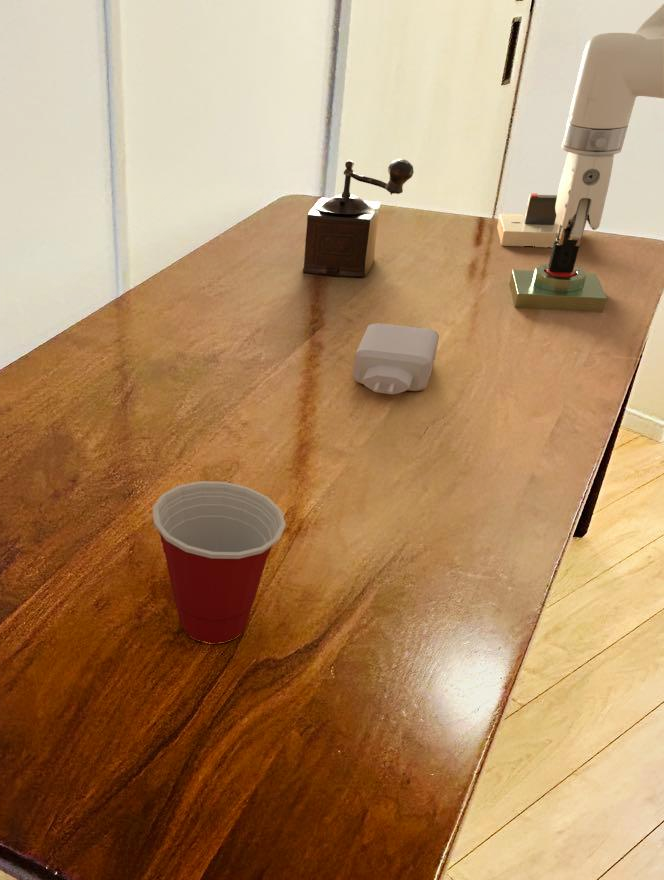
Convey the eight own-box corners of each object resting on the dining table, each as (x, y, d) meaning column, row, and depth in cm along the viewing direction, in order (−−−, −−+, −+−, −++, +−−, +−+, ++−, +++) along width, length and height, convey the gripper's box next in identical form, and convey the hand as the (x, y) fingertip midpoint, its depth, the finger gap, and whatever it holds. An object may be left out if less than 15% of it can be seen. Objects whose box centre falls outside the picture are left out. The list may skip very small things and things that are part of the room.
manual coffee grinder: (299, 274, 148) (308, 158, 137) (314, 252, 156) (323, 141, 146) (396, 283, 143) (413, 163, 132) (406, 260, 151) (422, 146, 141)
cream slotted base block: (568, 230, 160) (572, 214, 158) (576, 248, 152) (580, 232, 151) (497, 227, 163) (500, 212, 161) (501, 245, 155) (504, 230, 153)
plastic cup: (295, 653, 76) (307, 539, 69) (172, 676, 75) (170, 562, 68) (254, 576, 85) (260, 467, 78) (142, 595, 83) (138, 486, 76)
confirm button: (570, 277, 135) (573, 266, 134) (574, 287, 132) (577, 275, 131) (542, 276, 136) (545, 265, 135) (545, 286, 133) (548, 274, 132)
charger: (342, 404, 112) (364, 354, 123) (418, 415, 109) (434, 363, 120) (346, 369, 109) (368, 321, 120) (425, 379, 106) (440, 329, 117)
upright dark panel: (553, 222, 156) (559, 193, 153) (554, 224, 155) (561, 196, 152) (523, 221, 157) (529, 193, 154) (524, 223, 156) (530, 195, 153)
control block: (592, 287, 138) (599, 261, 136) (602, 312, 131) (610, 286, 128) (509, 283, 141) (514, 258, 139) (514, 307, 133) (520, 281, 131)
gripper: (634, 152, 116) (595, 290, 127) (614, 126, 127) (580, 254, 138) (571, 150, 118) (538, 287, 128) (557, 125, 129) (528, 252, 140)
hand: (560, 270), depth 133 cm, fingers closed
